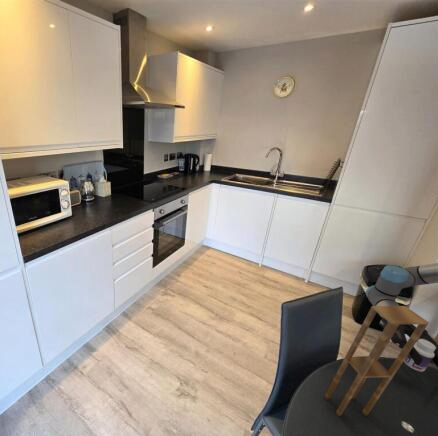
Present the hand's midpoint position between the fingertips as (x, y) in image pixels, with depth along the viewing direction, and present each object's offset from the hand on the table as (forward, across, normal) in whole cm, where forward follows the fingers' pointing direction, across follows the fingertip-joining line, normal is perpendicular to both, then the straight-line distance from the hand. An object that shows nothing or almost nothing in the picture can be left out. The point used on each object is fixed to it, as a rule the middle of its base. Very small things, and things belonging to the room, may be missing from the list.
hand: (432, 365), depth 76 cm
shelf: (+13, +22, +23) cm, 35 cm away
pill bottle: (-5, 0, -6) cm, 8 cm away
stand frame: (+13, +22, -15) cm, 30 cm away
